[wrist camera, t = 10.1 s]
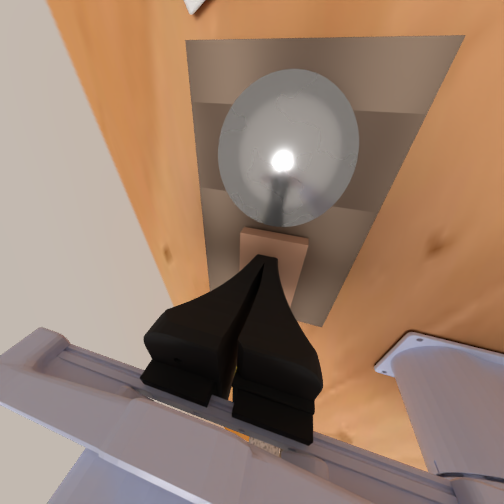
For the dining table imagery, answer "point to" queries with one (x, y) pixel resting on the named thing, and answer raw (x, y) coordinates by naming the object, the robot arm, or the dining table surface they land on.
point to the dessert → (193, 5)
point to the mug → (266, 446)
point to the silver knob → (288, 147)
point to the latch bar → (276, 254)
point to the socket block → (370, 141)
